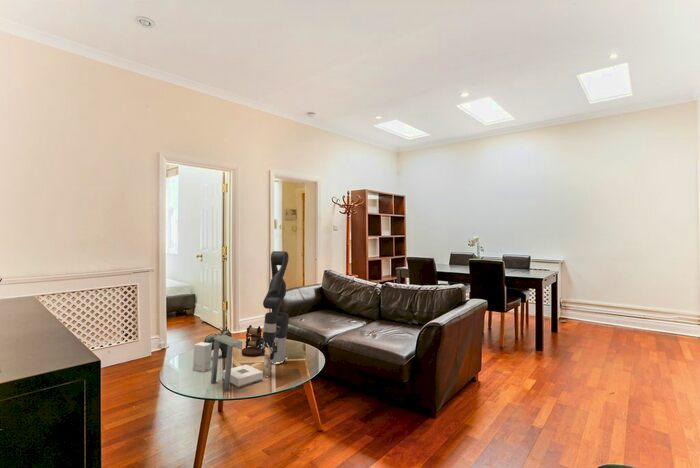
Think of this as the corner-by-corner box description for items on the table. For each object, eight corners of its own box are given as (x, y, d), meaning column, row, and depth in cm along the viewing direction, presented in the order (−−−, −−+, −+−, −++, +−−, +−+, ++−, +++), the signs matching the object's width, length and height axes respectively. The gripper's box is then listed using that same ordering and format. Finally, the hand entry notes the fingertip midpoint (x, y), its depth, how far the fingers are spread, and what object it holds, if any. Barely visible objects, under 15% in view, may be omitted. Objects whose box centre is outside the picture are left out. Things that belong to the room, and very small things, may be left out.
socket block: (245, 372, 209) (246, 364, 209) (262, 380, 199) (262, 371, 199) (221, 379, 196) (222, 370, 196) (237, 388, 186) (238, 378, 186)
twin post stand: (221, 379, 196) (225, 334, 197) (238, 388, 186) (242, 341, 187) (209, 382, 191) (213, 336, 192) (226, 392, 180) (231, 343, 181)
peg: (266, 374, 209) (268, 354, 209) (270, 376, 206) (272, 356, 207) (261, 375, 206) (263, 355, 206) (265, 377, 203) (267, 357, 204)
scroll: (266, 352, 250) (268, 324, 251) (257, 358, 236) (260, 329, 237) (246, 349, 253) (249, 322, 253) (237, 355, 238) (240, 326, 239)
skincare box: (210, 368, 211) (213, 343, 211) (203, 372, 204) (205, 346, 205) (199, 366, 213) (201, 341, 213) (191, 370, 206) (194, 344, 207)
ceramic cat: (226, 354, 240) (229, 325, 240) (231, 356, 235) (234, 327, 236) (198, 359, 224) (201, 329, 225) (203, 362, 220) (206, 331, 221)
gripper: (282, 332, 205) (279, 359, 204) (267, 327, 214) (264, 353, 213) (272, 333, 200) (269, 362, 199) (257, 328, 209) (254, 355, 208)
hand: (267, 357), depth 206 cm, fingers open, 8 cm apart
